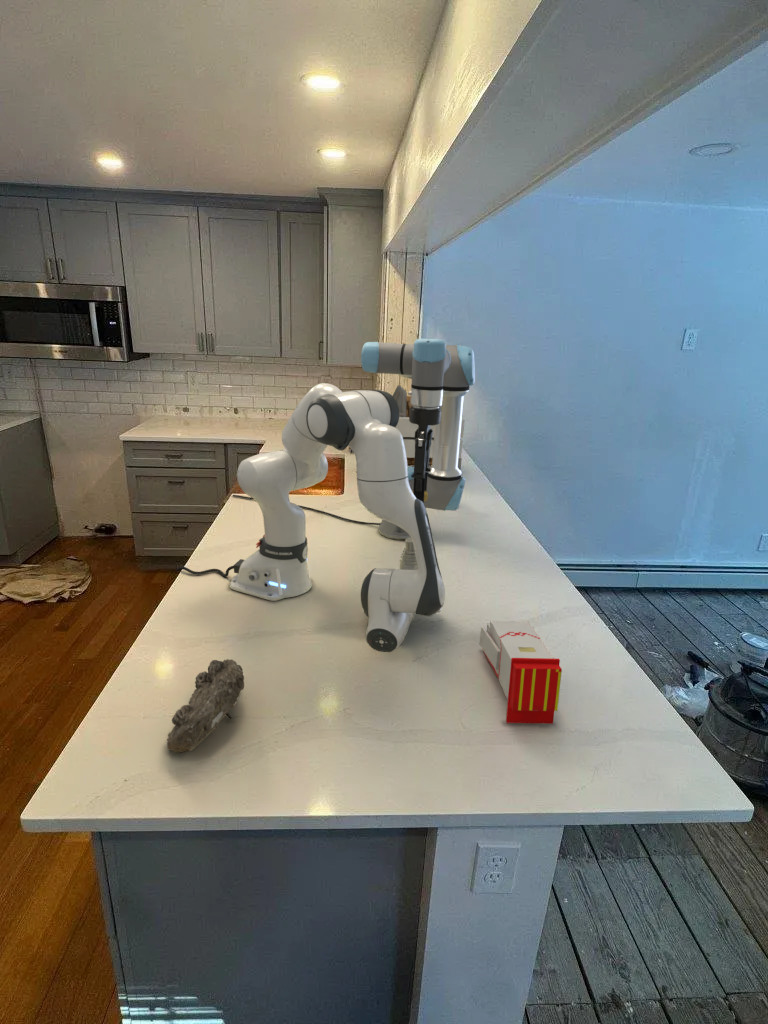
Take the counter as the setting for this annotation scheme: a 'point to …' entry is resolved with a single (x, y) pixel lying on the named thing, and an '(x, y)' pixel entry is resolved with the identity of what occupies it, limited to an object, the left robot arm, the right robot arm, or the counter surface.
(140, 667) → the counter surface
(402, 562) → the bottle
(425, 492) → the cap
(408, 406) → the white storage drawers
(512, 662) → the toy
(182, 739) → the fossil
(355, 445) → the left robot arm
